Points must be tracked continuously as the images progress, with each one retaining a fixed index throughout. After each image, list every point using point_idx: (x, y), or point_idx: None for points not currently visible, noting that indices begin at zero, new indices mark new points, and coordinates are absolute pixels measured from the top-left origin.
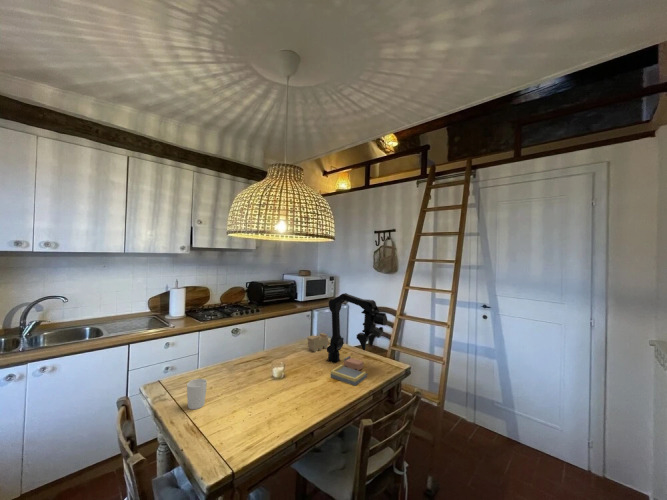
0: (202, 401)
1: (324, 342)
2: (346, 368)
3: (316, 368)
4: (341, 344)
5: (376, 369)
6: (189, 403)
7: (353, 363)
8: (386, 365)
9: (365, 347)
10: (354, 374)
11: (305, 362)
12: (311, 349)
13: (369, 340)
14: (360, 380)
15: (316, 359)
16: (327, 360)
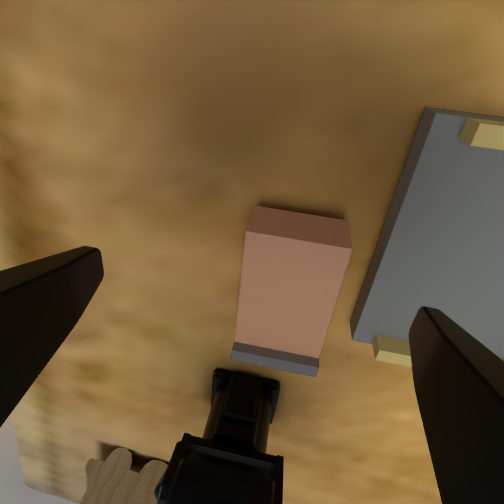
0: None
1: (119, 491)
2: (388, 310)
3: (405, 435)
4: (214, 496)
5: (198, 82)
6: None
7: (337, 294)
8: (39, 15)
9: (462, 348)
10: (502, 221)
11: (350, 480)
12: None
13: (29, 376)
14: None
15: (284, 454)
16: (272, 418)
